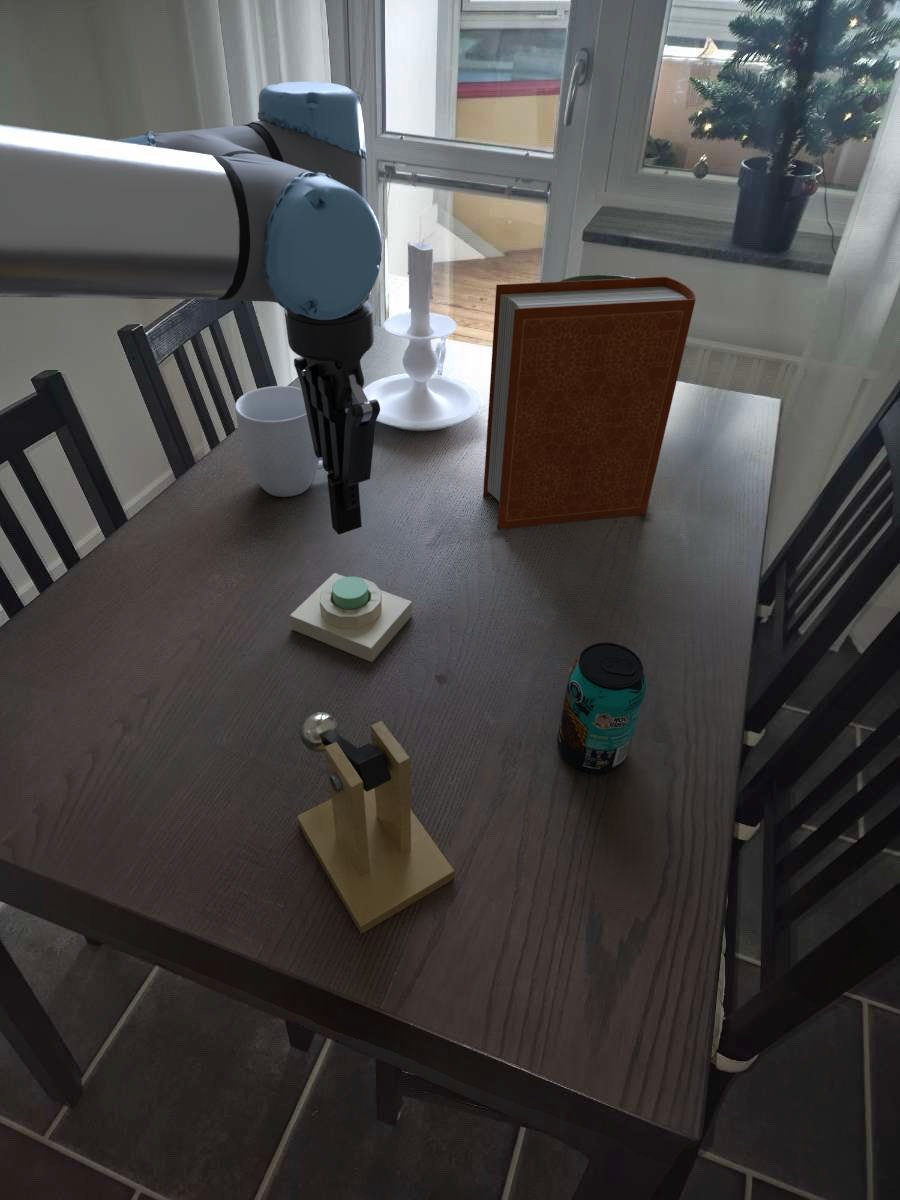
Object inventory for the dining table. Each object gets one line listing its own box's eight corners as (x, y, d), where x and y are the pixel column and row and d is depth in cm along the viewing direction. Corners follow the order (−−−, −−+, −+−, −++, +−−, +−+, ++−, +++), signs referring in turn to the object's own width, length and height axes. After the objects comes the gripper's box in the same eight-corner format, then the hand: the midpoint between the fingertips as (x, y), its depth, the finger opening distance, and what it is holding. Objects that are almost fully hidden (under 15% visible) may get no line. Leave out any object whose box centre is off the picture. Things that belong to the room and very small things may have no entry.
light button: (326, 603, 86) (325, 591, 85) (346, 583, 89) (345, 572, 88) (356, 615, 85) (355, 603, 83) (375, 594, 87) (374, 583, 86)
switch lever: (301, 752, 70) (289, 717, 69) (336, 736, 71) (325, 701, 70) (360, 803, 57) (347, 761, 56) (402, 782, 59) (389, 741, 58)
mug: (340, 457, 118) (334, 377, 109) (359, 494, 110) (354, 411, 101) (243, 472, 113) (228, 390, 105) (255, 512, 106) (240, 427, 97)
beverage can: (559, 716, 79) (574, 632, 71) (627, 727, 78) (650, 643, 70) (553, 771, 74) (569, 686, 66) (626, 783, 73) (651, 698, 65)
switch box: (291, 629, 88) (287, 603, 85) (335, 586, 94) (333, 560, 91) (372, 662, 84) (370, 636, 81) (412, 615, 90) (412, 589, 88)
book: (497, 529, 104) (515, 309, 84) (483, 497, 110) (496, 284, 90) (652, 513, 108) (703, 299, 88) (630, 482, 114) (673, 276, 94)
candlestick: (498, 389, 137) (510, 221, 119) (463, 455, 119) (471, 269, 101) (390, 373, 141) (386, 209, 123) (340, 435, 123) (326, 252, 105)
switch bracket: (298, 824, 68) (279, 724, 59) (385, 779, 72) (380, 680, 63) (361, 934, 61) (350, 840, 52) (454, 878, 65) (460, 781, 56)
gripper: (404, 318, 62) (409, 547, 78) (333, 272, 70) (349, 488, 86) (321, 336, 59) (343, 571, 75) (257, 286, 67) (288, 508, 83)
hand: (346, 527), depth 80 cm, fingers closed
